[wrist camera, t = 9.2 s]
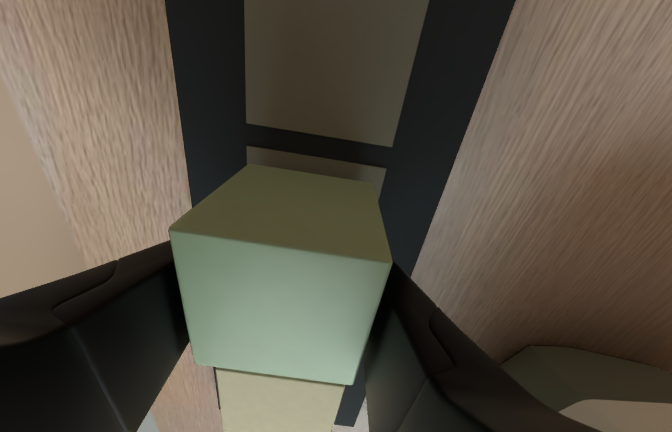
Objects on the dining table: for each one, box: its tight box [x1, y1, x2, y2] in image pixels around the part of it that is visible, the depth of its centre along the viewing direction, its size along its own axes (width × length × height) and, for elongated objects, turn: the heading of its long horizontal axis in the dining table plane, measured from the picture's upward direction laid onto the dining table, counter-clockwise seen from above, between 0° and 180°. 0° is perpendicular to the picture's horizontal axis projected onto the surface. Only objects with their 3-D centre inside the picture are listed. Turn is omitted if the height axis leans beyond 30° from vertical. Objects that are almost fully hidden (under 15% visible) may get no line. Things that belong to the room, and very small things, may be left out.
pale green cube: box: [168, 164, 393, 385], centre depth 8 cm, size 4×4×4 cm
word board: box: [165, 0, 516, 432], centre depth 11 cm, size 10×26×5 cm, turn 171°
